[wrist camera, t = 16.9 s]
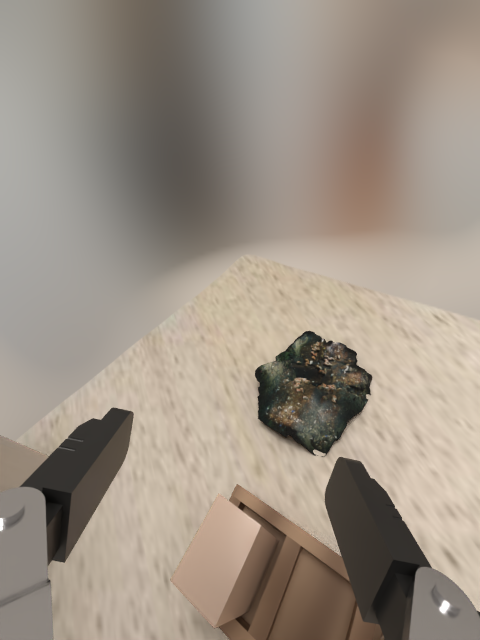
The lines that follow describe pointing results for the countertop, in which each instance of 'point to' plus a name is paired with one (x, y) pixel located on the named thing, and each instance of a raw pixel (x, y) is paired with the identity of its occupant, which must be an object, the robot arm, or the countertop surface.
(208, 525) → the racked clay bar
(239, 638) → the wooden divided tray
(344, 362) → the decorative rock
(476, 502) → the countertop surface
